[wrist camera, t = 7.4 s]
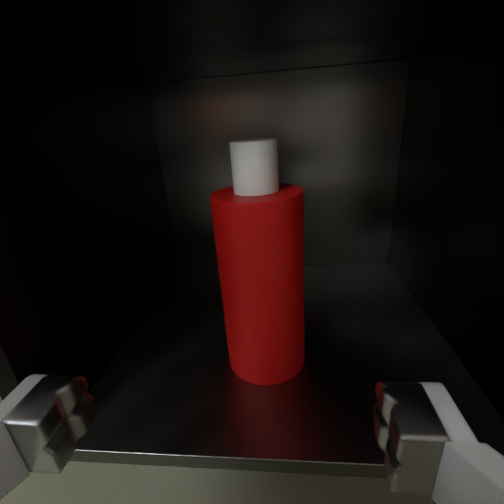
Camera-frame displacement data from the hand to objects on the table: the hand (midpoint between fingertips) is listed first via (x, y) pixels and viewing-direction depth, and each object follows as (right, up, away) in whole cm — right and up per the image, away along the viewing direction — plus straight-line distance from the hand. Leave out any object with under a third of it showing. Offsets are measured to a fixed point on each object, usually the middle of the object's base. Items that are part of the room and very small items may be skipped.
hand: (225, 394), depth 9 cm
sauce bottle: (+2, -4, +16) cm, 16 cm away
